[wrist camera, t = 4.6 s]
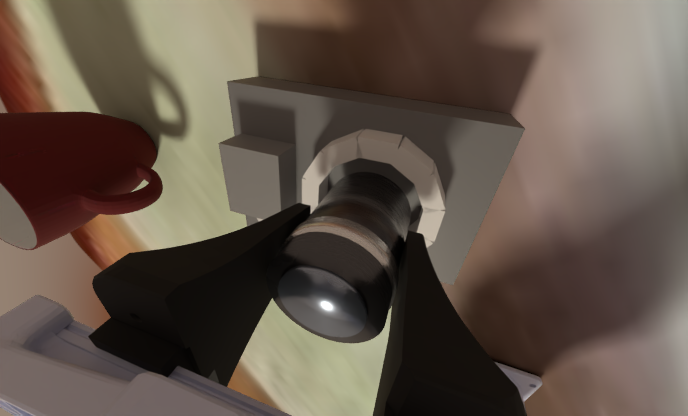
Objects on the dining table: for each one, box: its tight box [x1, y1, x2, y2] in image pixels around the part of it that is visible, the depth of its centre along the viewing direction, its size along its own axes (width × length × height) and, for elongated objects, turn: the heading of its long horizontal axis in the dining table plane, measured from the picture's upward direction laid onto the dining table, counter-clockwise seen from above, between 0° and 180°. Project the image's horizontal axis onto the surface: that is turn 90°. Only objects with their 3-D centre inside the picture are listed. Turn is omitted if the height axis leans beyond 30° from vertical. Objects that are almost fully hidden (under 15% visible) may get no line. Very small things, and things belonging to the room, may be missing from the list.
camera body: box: [219, 77, 525, 285], centre depth 16 cm, size 10×15×5 cm, turn 85°
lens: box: [266, 172, 411, 343], centre depth 11 cm, size 5×5×6 cm
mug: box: [0, 112, 163, 250], centre depth 19 cm, size 10×8×10 cm
